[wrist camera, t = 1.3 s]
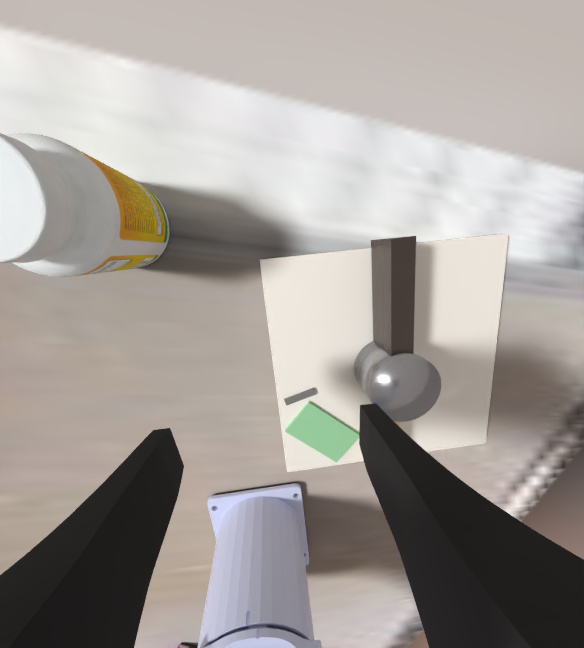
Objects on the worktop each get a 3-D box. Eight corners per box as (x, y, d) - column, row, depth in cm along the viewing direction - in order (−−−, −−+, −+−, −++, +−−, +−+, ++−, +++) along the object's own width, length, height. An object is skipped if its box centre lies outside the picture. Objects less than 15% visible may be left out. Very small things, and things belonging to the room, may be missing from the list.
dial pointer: (409, 454, 22) (435, 491, 19) (357, 461, 22) (373, 500, 19) (414, 235, 18) (449, 232, 14) (348, 242, 18) (367, 241, 14)
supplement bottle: (148, 283, 19) (28, 317, 9) (69, 235, 17) (-158, 221, 8) (187, 213, 18) (98, 174, 8) (107, 158, 16) (-100, 42, 7)
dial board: (476, 435, 24) (488, 445, 23) (286, 463, 23) (287, 475, 22) (496, 234, 20) (512, 233, 18) (260, 259, 19) (259, 260, 17)
